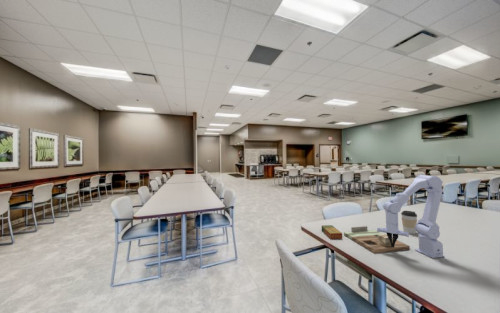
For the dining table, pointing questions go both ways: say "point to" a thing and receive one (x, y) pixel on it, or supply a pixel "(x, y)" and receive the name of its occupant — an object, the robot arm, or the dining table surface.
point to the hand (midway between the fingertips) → (392, 246)
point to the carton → (331, 232)
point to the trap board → (372, 240)
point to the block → (384, 240)
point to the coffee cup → (409, 221)
